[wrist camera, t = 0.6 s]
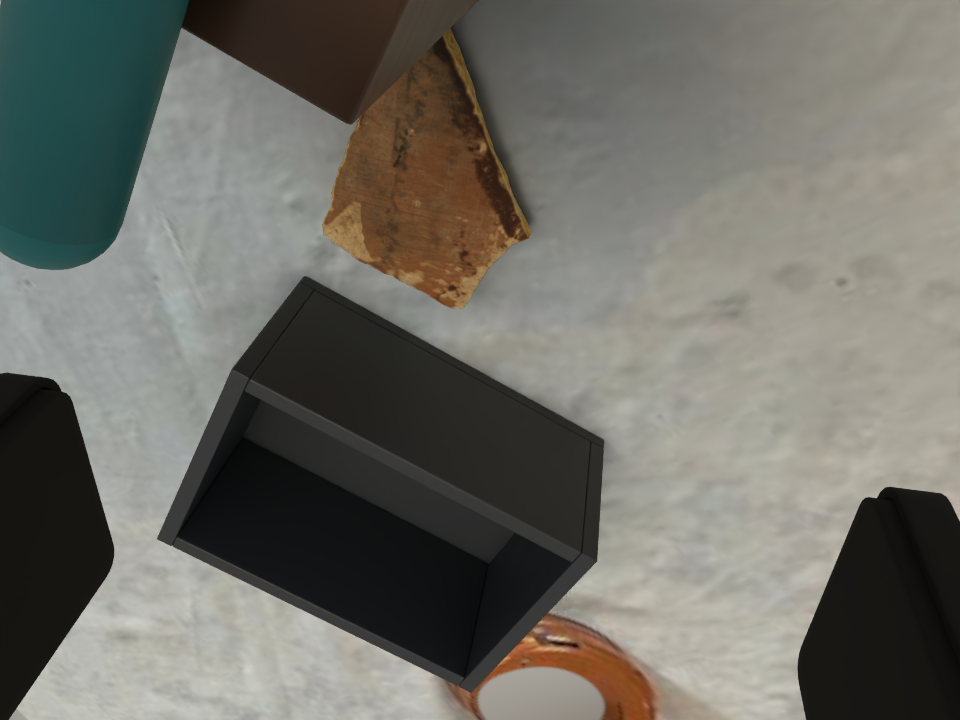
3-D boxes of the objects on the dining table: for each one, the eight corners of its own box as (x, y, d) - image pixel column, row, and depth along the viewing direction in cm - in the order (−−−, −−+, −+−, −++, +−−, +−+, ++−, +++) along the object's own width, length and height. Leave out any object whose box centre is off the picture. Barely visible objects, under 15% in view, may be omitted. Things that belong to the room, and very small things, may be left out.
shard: (427, -36, 28) (415, -29, 27) (620, 72, 29) (619, 85, 28) (323, 221, 34) (309, 238, 33) (486, 305, 35) (479, 325, 33)
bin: (230, 432, 41) (156, 539, 35) (304, 275, 36) (231, 369, 29) (496, 568, 43) (471, 693, 37) (604, 440, 38) (597, 561, 31)
